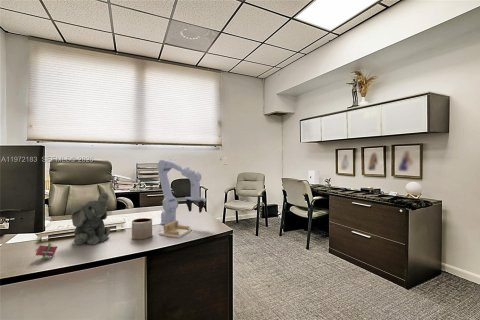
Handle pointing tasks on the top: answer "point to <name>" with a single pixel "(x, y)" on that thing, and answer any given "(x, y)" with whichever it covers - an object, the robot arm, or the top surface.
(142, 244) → the top surface
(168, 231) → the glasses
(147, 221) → the planter
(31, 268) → the top surface
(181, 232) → the stand
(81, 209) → the stuffed elephant
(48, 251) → the geometric puzzle
